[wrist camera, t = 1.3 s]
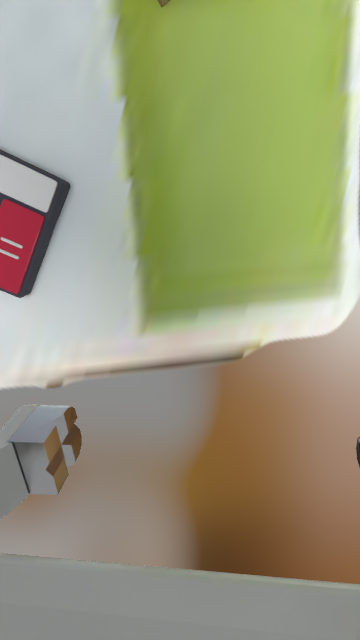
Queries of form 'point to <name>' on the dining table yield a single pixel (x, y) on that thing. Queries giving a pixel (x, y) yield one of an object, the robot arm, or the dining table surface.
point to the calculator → (26, 220)
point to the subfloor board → (163, 2)
